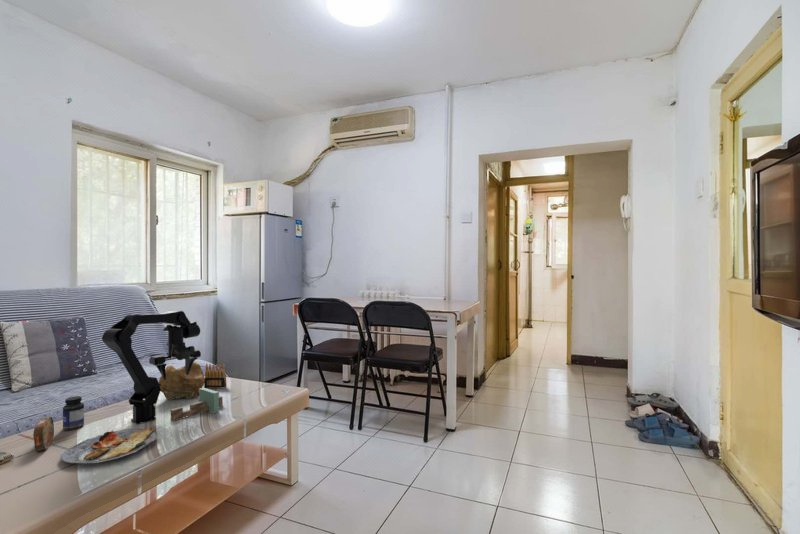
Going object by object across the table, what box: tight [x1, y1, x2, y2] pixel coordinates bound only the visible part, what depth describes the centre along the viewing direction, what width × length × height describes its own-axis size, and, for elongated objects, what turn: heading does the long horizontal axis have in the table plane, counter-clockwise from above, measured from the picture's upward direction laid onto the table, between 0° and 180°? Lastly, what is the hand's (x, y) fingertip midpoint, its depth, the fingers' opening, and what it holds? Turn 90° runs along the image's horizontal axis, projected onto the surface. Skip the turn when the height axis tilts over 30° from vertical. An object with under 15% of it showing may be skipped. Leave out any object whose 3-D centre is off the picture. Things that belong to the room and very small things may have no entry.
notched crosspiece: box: [198, 387, 220, 414], centre depth 163 cm, size 2×12×8 cm, turn 54°
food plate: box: [59, 427, 159, 465], centre depth 126 cm, size 25×23×4 cm
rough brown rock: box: [158, 361, 205, 401], centre depth 183 cm, size 23×17×15 cm
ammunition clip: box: [203, 362, 227, 388], centre depth 197 cm, size 11×2×12 cm, turn 86°
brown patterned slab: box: [32, 416, 55, 452], centre depth 130 cm, size 15×3×8 cm, turn 32°
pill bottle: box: [62, 395, 85, 431], centre depth 146 cm, size 6×6×11 cm
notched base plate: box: [170, 395, 223, 422], centre depth 160 cm, size 20×2×4 cm, turn 144°
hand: (176, 377), depth 166 cm, fingers open, 9 cm apart
